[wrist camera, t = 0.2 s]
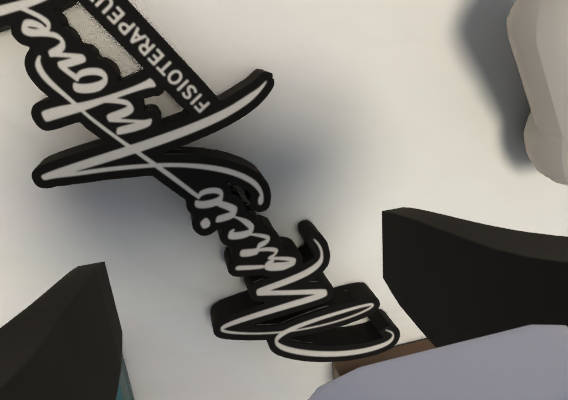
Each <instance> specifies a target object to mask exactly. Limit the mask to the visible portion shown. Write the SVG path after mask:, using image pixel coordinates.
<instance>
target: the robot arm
mask: <svg viewBox="0 0 568 400" xmlns="http://www.w3.org/2000/svg"><path fill="white" fill-rule="evenodd" d="M382 243H383V279H384V280H385V282H386V284H387V285H388V287H389V289H390V290H391V292H392V294H393V295H394V297H395V298H396V300H397V302H398V303H399V305H400V306H401V307H402V308H403V310H404V311H405V312H406V313H407V315H408V316H409V317H410V318H411V319H412V321H413V322H414V323H415V324H416V325H417V326H418V328H419V329H420V330H421V331H422V332H423V333H424V335H425V336H426V337H427V338H428V339H429V340H430V342H431V343H432V344H433V345H434V346H435V347H436V348H435V349H431V350H427V351H422V352H418V353H414V354H410V355H406V356H402V357H398V358H394V359H390V360H386V361H382V362H378V363H374V364H370V365H366V366H362V367H359V368H357V369H355V370H353V371H351V372H349V373H347V374H345V375H343V376H340V377H338V378H336V379H334V380H332V381H330V382H328V383H326V384H324V385H322V386H320V387H318V388H317V390H316V391H315V392H314V393H313V394H312V395H311V397H310V398H309V399H308V400H568V237H565V236H554V235H546V234H538V233H530V232H523V231H517V230H511V229H506V228H500V227H495V226H490V225H485V224H481V223H476V222H472V221H468V220H463V219H459V218H455V217H451V216H447V215H443V214H438V213H434V212H430V211H425V210H420V209H415V208H405V207H402V208H397V209H391V210H386V211H382ZM121 365H122V329H121V325H120V321H119V317H118V313H117V309H116V305H115V301H114V297H113V293H112V290H111V286H110V282H109V278H108V274H107V270H106V266H105V262H99V263H94V264H88V265H83V266H78V267H76V268H75V269H73V270H72V271H70V272H69V273H68V274H67V275H65V276H64V277H63V278H62V279H61V280H59V281H58V282H57V283H56V284H55V285H53V286H52V287H51V288H50V289H49V290H48V291H46V292H45V293H44V294H43V295H42V296H40V297H39V298H38V299H37V300H36V301H35V302H33V303H32V304H31V305H30V306H28V307H27V308H26V309H25V310H23V311H22V312H21V313H19V314H18V315H17V316H15V317H14V318H13V319H12V320H10V321H9V322H8V323H6V324H5V325H4V326H2V327H1V328H0V400H116V397H117V391H118V385H119V379H120V373H121Z"/></svg>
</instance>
